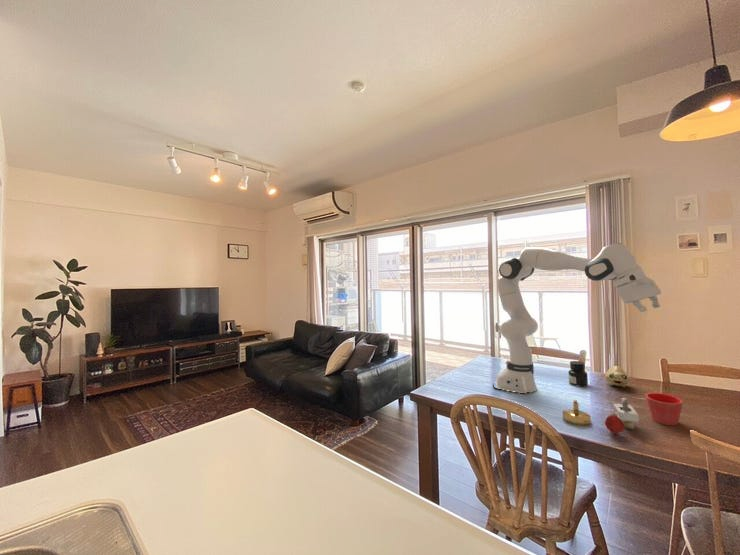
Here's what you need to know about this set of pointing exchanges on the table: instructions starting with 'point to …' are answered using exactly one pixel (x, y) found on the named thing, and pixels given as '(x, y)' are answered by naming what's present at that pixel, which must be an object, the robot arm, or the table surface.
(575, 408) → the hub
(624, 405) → the stand
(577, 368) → the ink bottle
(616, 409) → the white flat block
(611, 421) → the red rounded piece
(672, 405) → the flower pot
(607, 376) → the toy pig
